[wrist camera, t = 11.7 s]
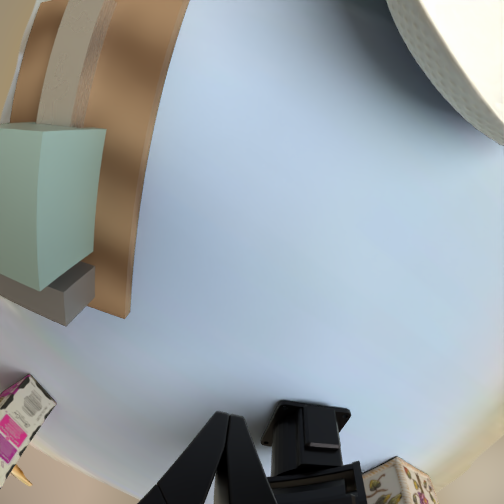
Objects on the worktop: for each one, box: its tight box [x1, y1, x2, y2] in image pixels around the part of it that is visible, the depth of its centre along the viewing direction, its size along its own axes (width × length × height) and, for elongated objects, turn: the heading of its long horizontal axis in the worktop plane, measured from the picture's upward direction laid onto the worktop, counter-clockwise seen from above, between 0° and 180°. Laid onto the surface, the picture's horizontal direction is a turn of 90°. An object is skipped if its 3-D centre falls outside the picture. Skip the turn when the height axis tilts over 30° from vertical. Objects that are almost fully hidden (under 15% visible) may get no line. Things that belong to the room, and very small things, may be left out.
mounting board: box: [10, 0, 190, 319], centre depth 17 cm, size 22×12×1 cm, turn 166°
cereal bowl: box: [386, 0, 504, 146], centre depth 9 cm, size 17×17×7 cm
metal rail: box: [36, 0, 117, 128], centre depth 16 cm, size 20×3×2 cm, turn 166°
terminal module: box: [0, 122, 107, 291], centre depth 15 cm, size 8×6×6 cm
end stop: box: [0, 261, 95, 326], centre depth 18 cm, size 2×7×4 cm, turn 77°
